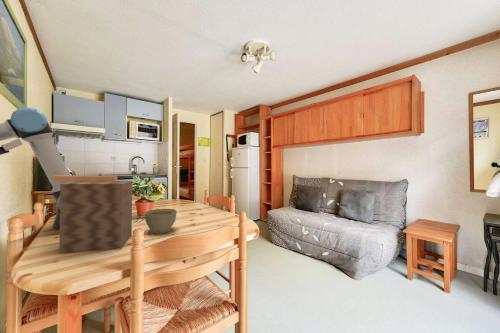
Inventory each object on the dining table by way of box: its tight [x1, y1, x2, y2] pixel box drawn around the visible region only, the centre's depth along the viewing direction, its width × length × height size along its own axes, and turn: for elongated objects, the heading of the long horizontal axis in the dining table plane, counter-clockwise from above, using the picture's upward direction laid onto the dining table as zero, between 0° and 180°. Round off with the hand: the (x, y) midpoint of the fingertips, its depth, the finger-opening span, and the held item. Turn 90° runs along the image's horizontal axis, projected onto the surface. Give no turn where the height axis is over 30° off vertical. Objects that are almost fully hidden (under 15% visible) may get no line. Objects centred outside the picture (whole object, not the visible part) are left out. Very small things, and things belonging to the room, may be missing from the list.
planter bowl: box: [144, 208, 178, 235], centre depth 116 cm, size 16×16×11 cm
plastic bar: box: [52, 175, 118, 182], centre depth 99 cm, size 24×4×2 cm, turn 107°
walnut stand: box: [58, 179, 133, 255], centre depth 97 cm, size 22×18×28 cm
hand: (8, 139), depth 91 cm, fingers open, 13 cm apart
